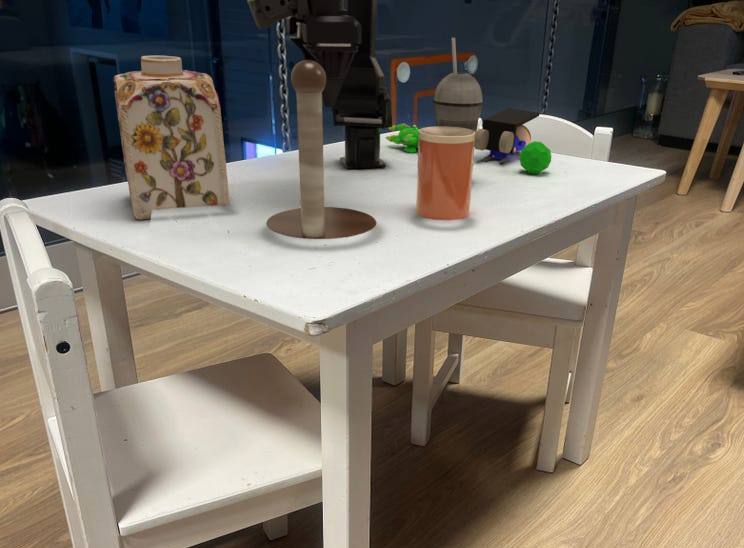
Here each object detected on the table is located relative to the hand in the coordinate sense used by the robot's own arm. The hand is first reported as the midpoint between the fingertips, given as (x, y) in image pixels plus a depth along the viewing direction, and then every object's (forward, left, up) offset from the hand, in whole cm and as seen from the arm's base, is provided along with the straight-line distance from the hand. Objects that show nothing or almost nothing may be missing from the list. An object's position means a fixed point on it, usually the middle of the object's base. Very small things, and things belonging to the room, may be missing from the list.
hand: (322, 101), depth 91 cm
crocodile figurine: (-30, +24, -13) cm, 41 cm away
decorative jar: (-2, -19, -13) cm, 23 cm away
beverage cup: (-8, +21, -13) cm, 26 cm away
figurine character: (-24, +36, -13) cm, 45 cm away
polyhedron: (-12, +36, -13) cm, 40 cm away
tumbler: (+11, +13, -13) cm, 21 cm away
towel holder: (+12, -2, -13) cm, 18 cm away
